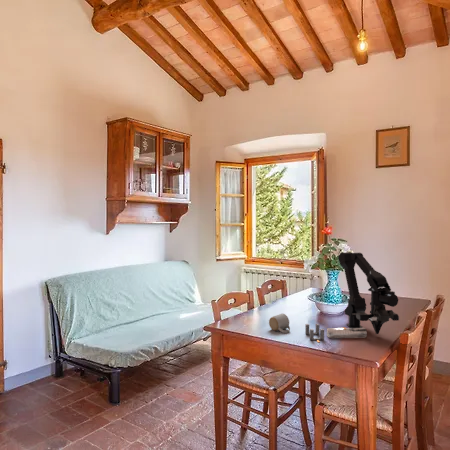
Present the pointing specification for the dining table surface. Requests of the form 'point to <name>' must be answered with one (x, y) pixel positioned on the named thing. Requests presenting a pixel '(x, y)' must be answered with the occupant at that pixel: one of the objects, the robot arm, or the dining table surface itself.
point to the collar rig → (314, 333)
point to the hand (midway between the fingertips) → (377, 333)
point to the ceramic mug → (279, 323)
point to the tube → (346, 332)
